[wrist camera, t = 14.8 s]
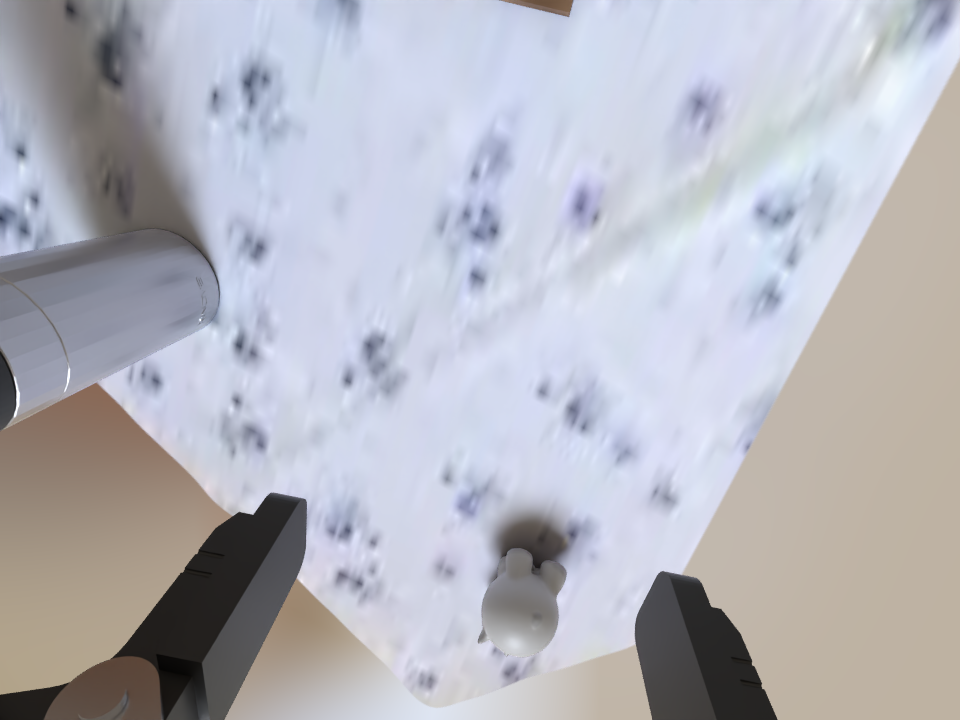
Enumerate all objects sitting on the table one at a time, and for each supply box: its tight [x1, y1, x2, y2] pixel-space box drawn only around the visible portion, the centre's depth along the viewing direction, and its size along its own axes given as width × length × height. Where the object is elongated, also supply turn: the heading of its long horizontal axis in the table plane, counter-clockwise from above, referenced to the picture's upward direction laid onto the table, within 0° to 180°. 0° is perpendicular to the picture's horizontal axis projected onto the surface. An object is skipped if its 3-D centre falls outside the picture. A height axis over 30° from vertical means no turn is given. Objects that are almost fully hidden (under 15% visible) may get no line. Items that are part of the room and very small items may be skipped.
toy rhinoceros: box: [478, 548, 567, 657], centre depth 47 cm, size 7×12×8 cm, turn 155°
